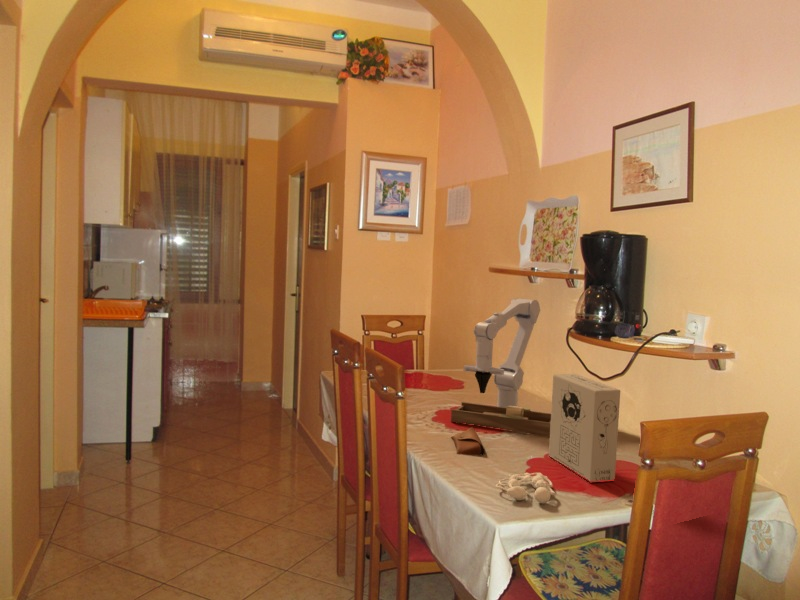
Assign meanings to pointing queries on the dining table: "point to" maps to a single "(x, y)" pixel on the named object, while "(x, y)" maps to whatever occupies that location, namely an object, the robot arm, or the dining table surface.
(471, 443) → the sunglasses case
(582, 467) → the cereal box
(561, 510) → the dining table surface
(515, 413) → the birch block
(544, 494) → the tangled rod sculpture
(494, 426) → the trap lane
